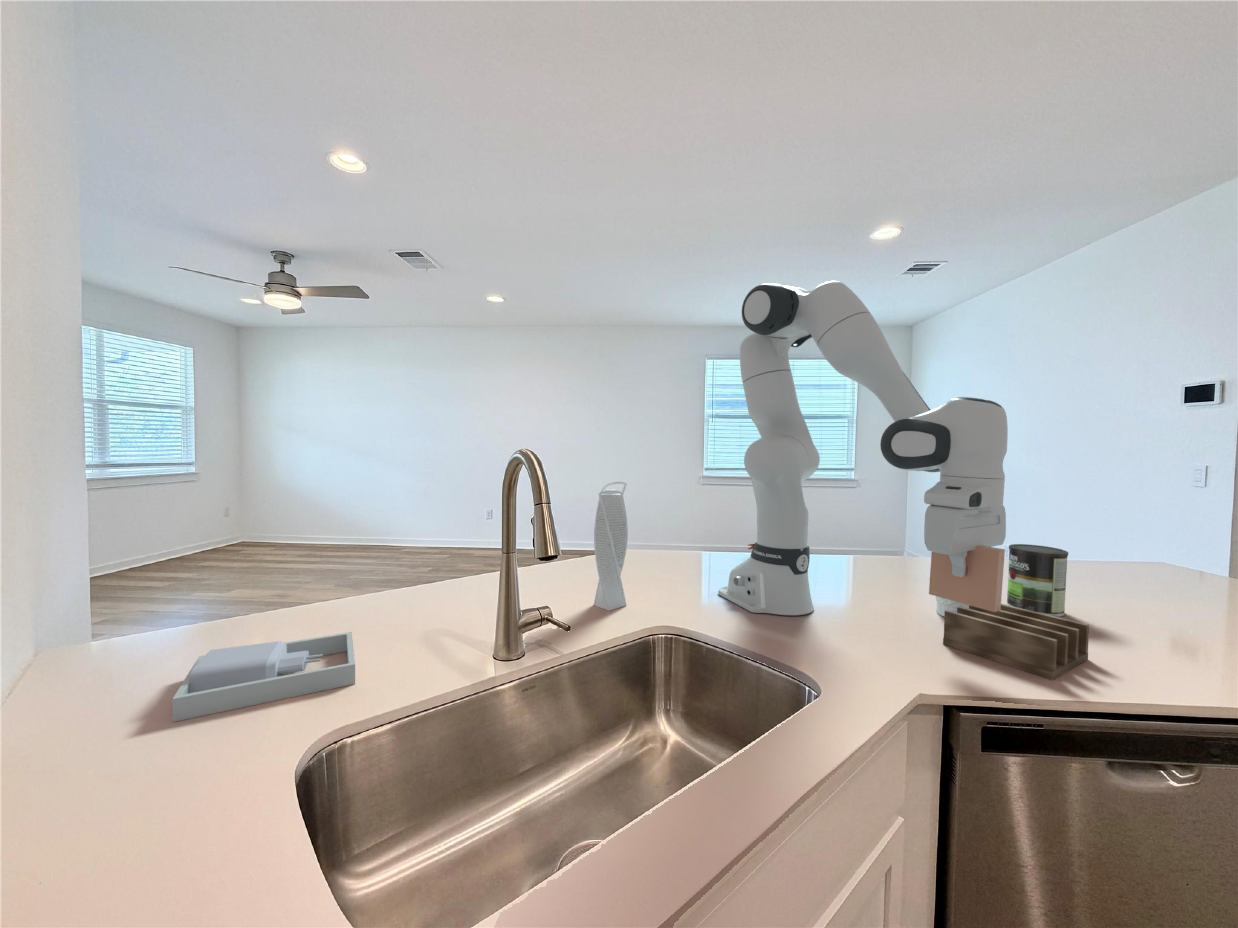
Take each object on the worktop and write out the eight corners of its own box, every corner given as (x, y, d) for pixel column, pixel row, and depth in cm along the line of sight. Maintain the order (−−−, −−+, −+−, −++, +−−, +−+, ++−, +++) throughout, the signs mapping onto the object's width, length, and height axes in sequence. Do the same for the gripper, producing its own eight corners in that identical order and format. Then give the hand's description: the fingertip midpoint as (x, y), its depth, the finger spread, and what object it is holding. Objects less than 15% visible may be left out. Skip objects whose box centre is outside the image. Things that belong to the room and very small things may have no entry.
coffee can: (1025, 615, 107) (1028, 552, 106) (996, 601, 117) (998, 543, 117) (1078, 618, 105) (1081, 554, 105) (1043, 603, 116) (1046, 544, 115)
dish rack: (943, 643, 91) (944, 611, 90) (982, 629, 98) (983, 599, 98) (1052, 679, 77) (1054, 641, 77) (1087, 659, 85) (1089, 624, 84)
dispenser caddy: (199, 675, 75) (199, 656, 75) (351, 648, 85) (351, 631, 85) (172, 721, 62) (172, 698, 62) (355, 683, 73) (355, 664, 73)
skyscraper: (612, 597, 116) (614, 480, 115) (634, 605, 111) (636, 482, 110) (587, 604, 111) (588, 482, 110) (608, 613, 105) (610, 484, 104)
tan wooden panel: (928, 594, 87) (932, 538, 86) (934, 592, 88) (938, 537, 87) (994, 612, 78) (999, 550, 77) (1000, 610, 79) (1004, 549, 78)
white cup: (963, 610, 110) (964, 566, 110) (985, 622, 102) (987, 575, 102) (926, 608, 111) (927, 565, 111) (946, 620, 103) (947, 574, 103)
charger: (316, 685, 73) (189, 706, 67) (325, 660, 81) (213, 676, 75) (316, 654, 72) (188, 672, 66) (325, 632, 81) (213, 646, 75)
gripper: (978, 490, 90) (973, 563, 91) (918, 493, 79) (913, 576, 80) (1020, 494, 84) (1014, 572, 85) (961, 498, 74) (955, 587, 75)
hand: (964, 574), depth 83 cm, fingers closed on tan wooden panel, 2 cm apart
